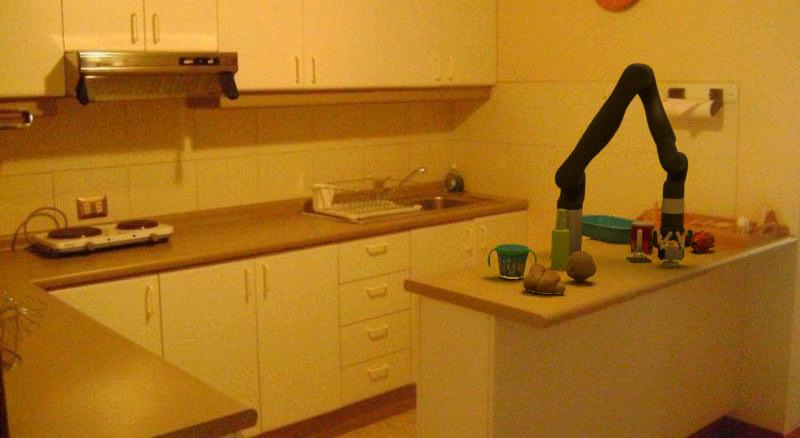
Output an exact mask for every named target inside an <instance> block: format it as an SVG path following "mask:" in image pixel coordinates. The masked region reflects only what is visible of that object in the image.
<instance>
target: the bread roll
mask: <svg viewBox="0 0 800 438" xmlns="http://www.w3.org/2000/svg"><path fill="white" fill-rule="evenodd" d="M561 279H562V278H561V276H560V274H559V273H558V272H557V271H555V270H553V269H546V268H545V267H544V266H543V265H542V264H541V263H538V262H537V263H536V264H535V263H533V264H532V265H531V266H530V267H529V270H528V274H526V276H525V277H524V278H523V283H522V284H523V288H524V290H525V289H526V290H525V291H527V290H529V291H535V292H534V293H536V292H540V293H552V294H551V295H558V294H557V293H561V294H564V293H565V292H566V289H567V288H566V283H565V282H563V281H562V280H561Z"/></svg>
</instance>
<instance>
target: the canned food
mask: <svg viewBox="0 0 800 438" xmlns="http://www.w3.org/2000/svg"><path fill="white" fill-rule="evenodd" d="M638 221H639V222H632V224H631V243H630V249H629V250H630V252H631V253H632V254H633V252H635V251H637V230H642V249H641V252H645V255H651V254H653V250H654V247H653V246H652V237H651V230H655V227H654V225H655V223H653V222H649V221H642V222H641V220H638Z"/></svg>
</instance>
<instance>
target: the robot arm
mask: <svg viewBox="0 0 800 438" xmlns="http://www.w3.org/2000/svg"><path fill="white" fill-rule="evenodd" d="M636 96H638V98H639V99H640V101H641V104H642V106H643V109H644V113H645V118H646V122H647V123H646V124H647V127H648V130H649V132H650V135H651V137H652V140H653V142H654V144H655V146H656V152H657V156H658V160H659V164H660V165H661V168H662V169H663V171H664V172H666V180H665V181H664V182H663V184H662V199H661V205H660V206H661V207H660V226H659V229H654V230H651V237H652V246H653V248H656V249H657V258H658V259H659V261H663V260H664V259H663V248H664V246H666V245H667V244H668V243H669V242H672V241H673V242H676V243H677V245H678V246H677V247H679V248H681V249H683V259H684V258H685V250H686V249H687V248H691V246H690V245H691V240H692V236H693V235H694V234H693V233H694V231H693V230H692V229H690V228H687V229H685V226H684V225H685V189H686V188H685V185H686V184H685V183H686V180H687V176H688V171H689V159H688V157H687V155H686V154H685V153H684V152H682V151H679V150H678V148H677V145H676V141H677V137H676V134H675V131H674V128H673V127H672V124H671V122H670V120H669V118H668V115H667V113H666V111H665V108H664V105H663V102H662V99H661V95H660V92H659V89H658V84H657V80H656V75H655V72H654V69H653V68H652V67H651V66H650V65H649V64H646V63H642V62H641V63H640V62H635V63H631V64H629V65H628V66H626V67H625V68H624V70H623V71H622V73H621V75H620V77H619V78H618V81H617V83H616V84H615V86H614V88H613V90H612V92H611V93H610V95H609V96H608V97H607V98H606V100H605V102H604V103H603V104H602V106H601V107H600V109H598V112H597V113H596V114H595V116H594V117H593V118H592V119H591V121H590V123H589V124H588V126H587V127H586V129H585V131H584V132H583V133H582V136H581V137H580V138H579V140H578V142H577V143H576V145H575V147H574V149H573V150H571V153H570V154H569V155H568V157H566V159H565V160H564V161H563V162H562V164H561V165H560V166H558V168H557V169H556V172H555V175H554V183H555V185H556V186H557V188H558V189H560V193H559V197H558V199H557V201H556V219H558V216H559V212H557V211H558V210H559V209H567V211H564V219H566V229H568V230H570V234H569V258H570V256H571V255H572V254H573V253H575V252H577V251H583V248H582V245H583V243H582V242H583V237H582V215H584V214H583V211H584V201H585V197H586V184H587V183H586V181H587V178H586V177H587V175H586V172H585V170H586V169H587V167H588V166H589V164H591V162H592V161H593V160H594V159H595V158H596V156H597V155H599V154H600V153H601V152H602V151H603V150H604V149H605V147H607V146H608V145H609V143H610V141H612V139H613V137H614V136H615V135H616V134H617V132H618V131H619V128H620V127H621V125H622V123H623V120H624V117H625V114H626V111H627V109H628V108H629V105H630V104H631V103H632V101H633V100H634V98H635V97H636ZM554 229H556V227H555V228H554ZM659 234H660V235H661V237H660V240H658V239H659V238H658V237H659ZM683 235H685V238H684V240H683V238H682V236H683ZM658 241H659V242H658Z"/></svg>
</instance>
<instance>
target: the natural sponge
mask: <svg viewBox="0 0 800 438" xmlns="http://www.w3.org/2000/svg"><path fill="white" fill-rule="evenodd" d="M597 270H598V269H597V265H596V263H595V260H594V258H593V256H592V255H591V254H590V253H589V252H587V251H585V250H582V251H577V252H575V253H573V254H572V255H571V256H570V257H569V260H568V264H567V268H566V269H565V272H566V275H567V277H569V278H571V280H572V279H573V280H574V281H575V282H577V283H584V282H585V281H586V280H588V279H590V278H592V277H593V276H594V275H596V272H597Z"/></svg>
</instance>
